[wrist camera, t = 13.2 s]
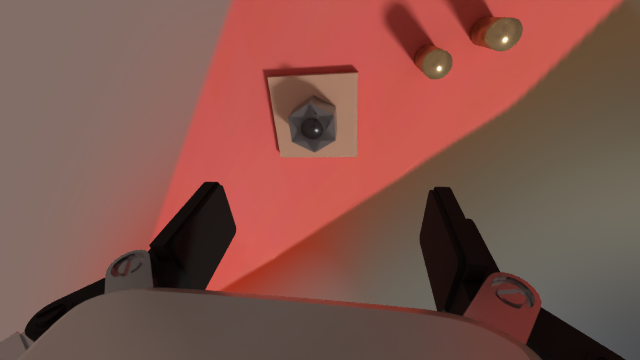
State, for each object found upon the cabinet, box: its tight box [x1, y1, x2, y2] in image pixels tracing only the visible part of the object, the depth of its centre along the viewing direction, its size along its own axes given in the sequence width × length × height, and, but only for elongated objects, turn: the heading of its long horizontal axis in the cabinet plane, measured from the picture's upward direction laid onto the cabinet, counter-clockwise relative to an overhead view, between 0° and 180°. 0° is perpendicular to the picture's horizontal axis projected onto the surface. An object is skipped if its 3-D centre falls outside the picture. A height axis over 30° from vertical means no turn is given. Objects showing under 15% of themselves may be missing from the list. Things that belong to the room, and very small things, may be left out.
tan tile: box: [267, 72, 358, 157], centre depth 31 cm, size 10×10×1 cm
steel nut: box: [288, 95, 337, 153], centre depth 30 cm, size 6×5×3 cm
